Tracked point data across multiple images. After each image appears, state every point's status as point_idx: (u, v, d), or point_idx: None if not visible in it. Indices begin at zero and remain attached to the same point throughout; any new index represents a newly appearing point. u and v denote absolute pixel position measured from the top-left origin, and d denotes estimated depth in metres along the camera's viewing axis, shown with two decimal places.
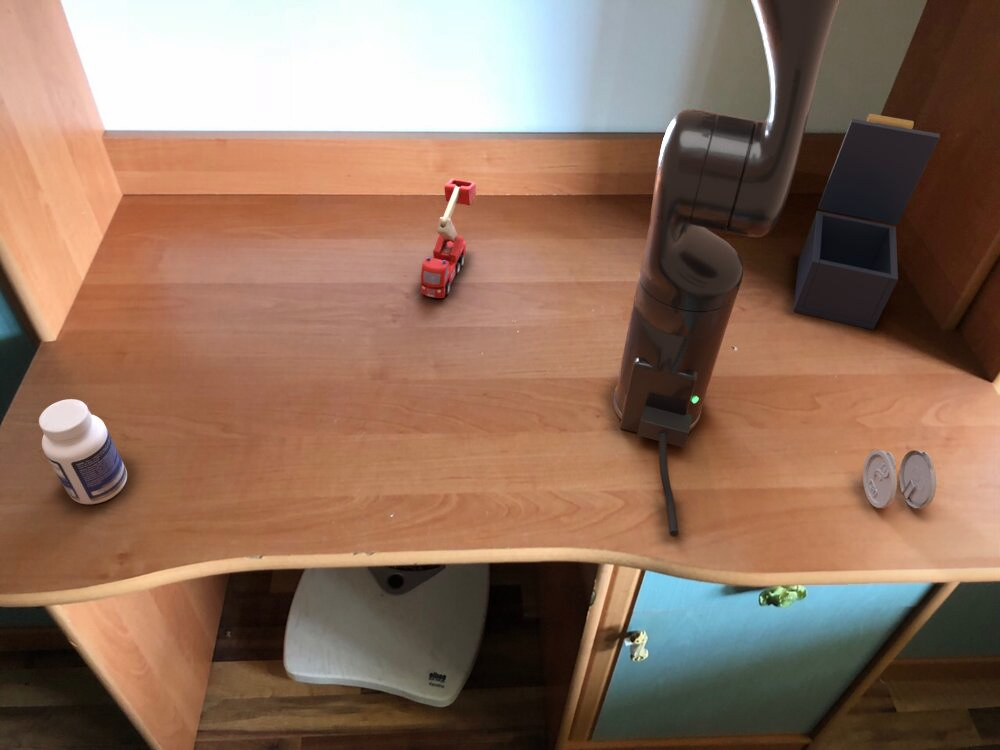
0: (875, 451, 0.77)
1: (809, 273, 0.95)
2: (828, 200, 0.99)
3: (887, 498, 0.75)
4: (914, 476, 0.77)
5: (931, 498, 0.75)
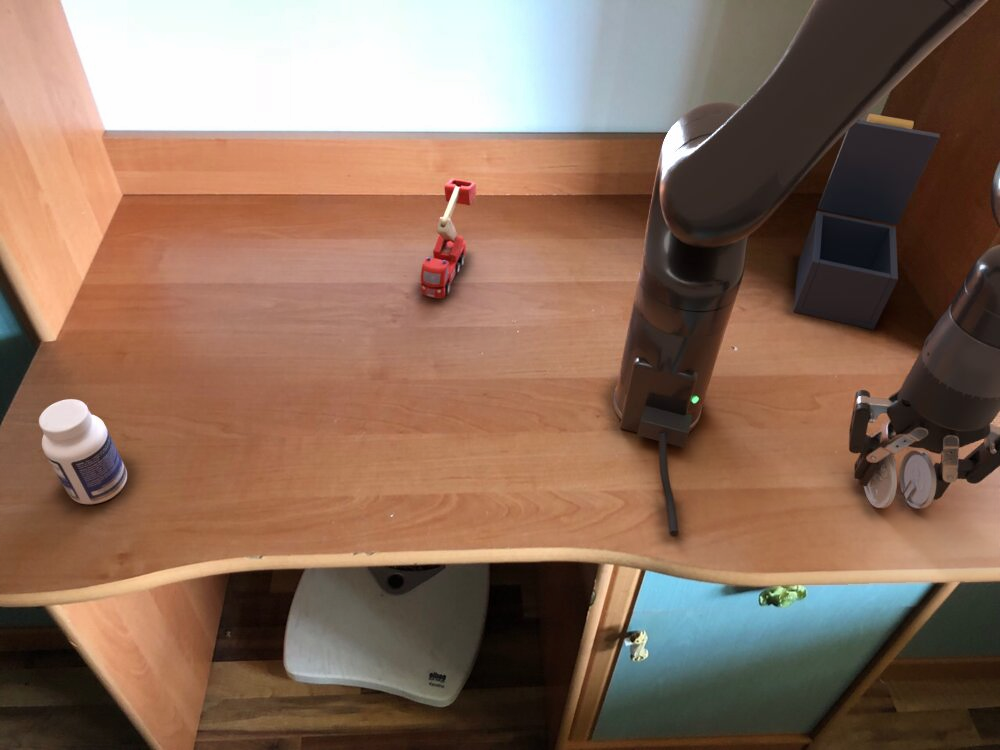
0: None
1: (809, 273, 0.95)
2: (828, 200, 0.99)
3: (887, 498, 0.75)
4: (914, 476, 0.77)
5: (931, 498, 0.75)
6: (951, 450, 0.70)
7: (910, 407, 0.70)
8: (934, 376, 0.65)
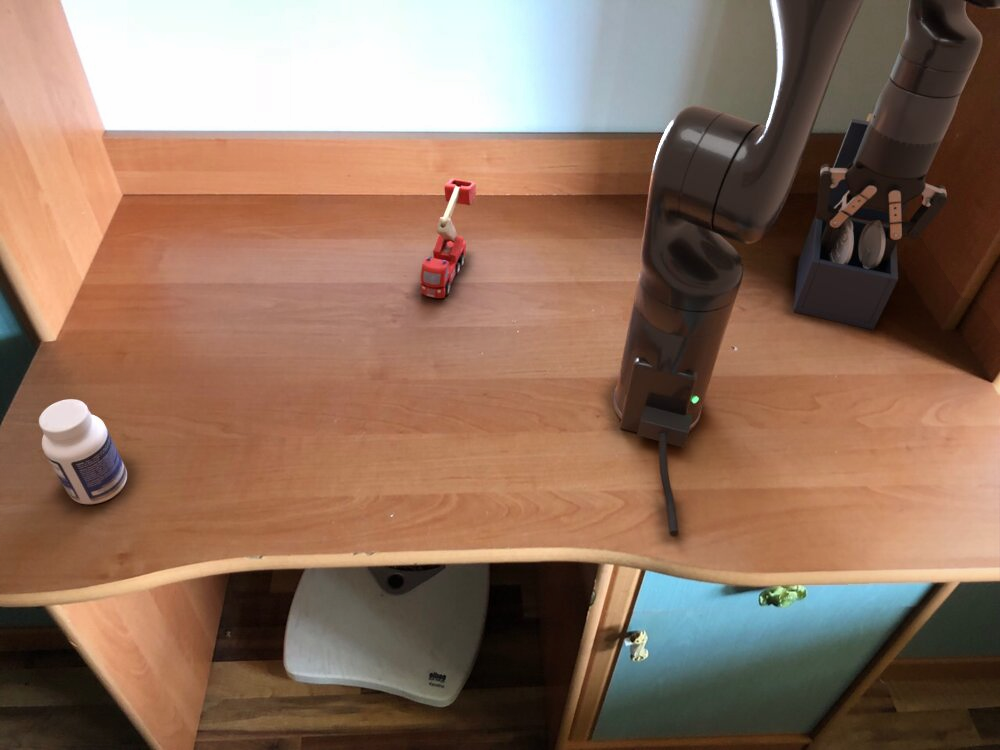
0: None
1: (809, 273, 0.95)
2: None
3: (846, 255, 0.93)
4: (869, 244, 0.96)
5: (881, 255, 0.93)
6: (895, 206, 0.89)
7: (862, 169, 0.88)
8: (878, 132, 0.84)
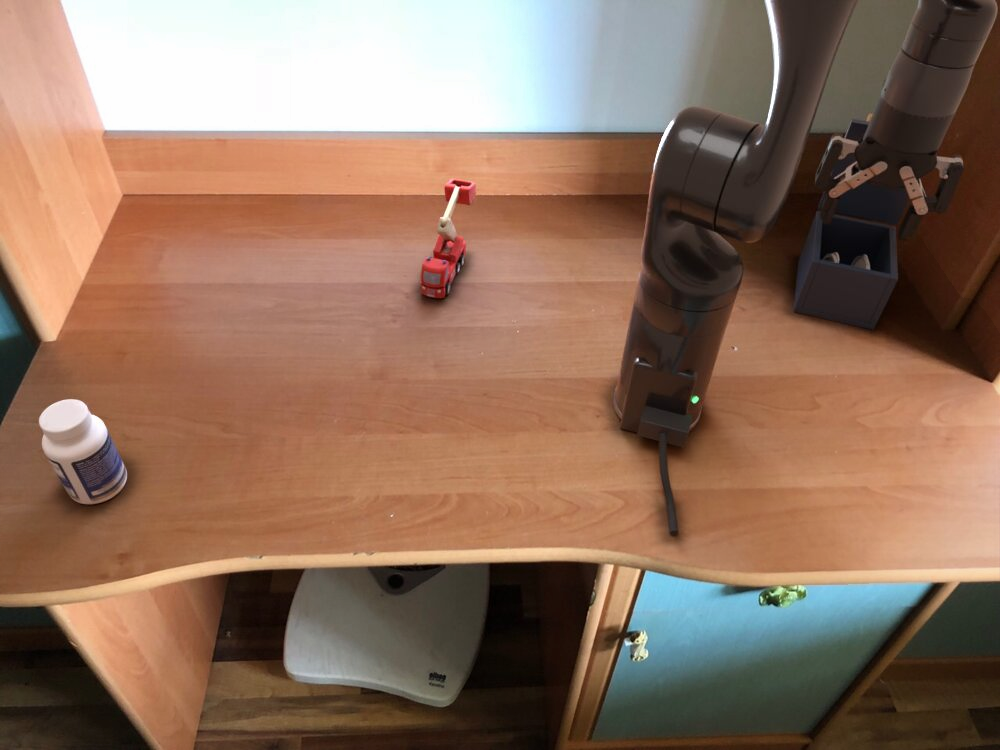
0: (826, 255, 0.99)
1: (809, 273, 0.95)
2: None
3: None
4: None
5: None
6: (910, 181, 0.87)
7: (872, 144, 0.86)
8: (889, 105, 0.81)
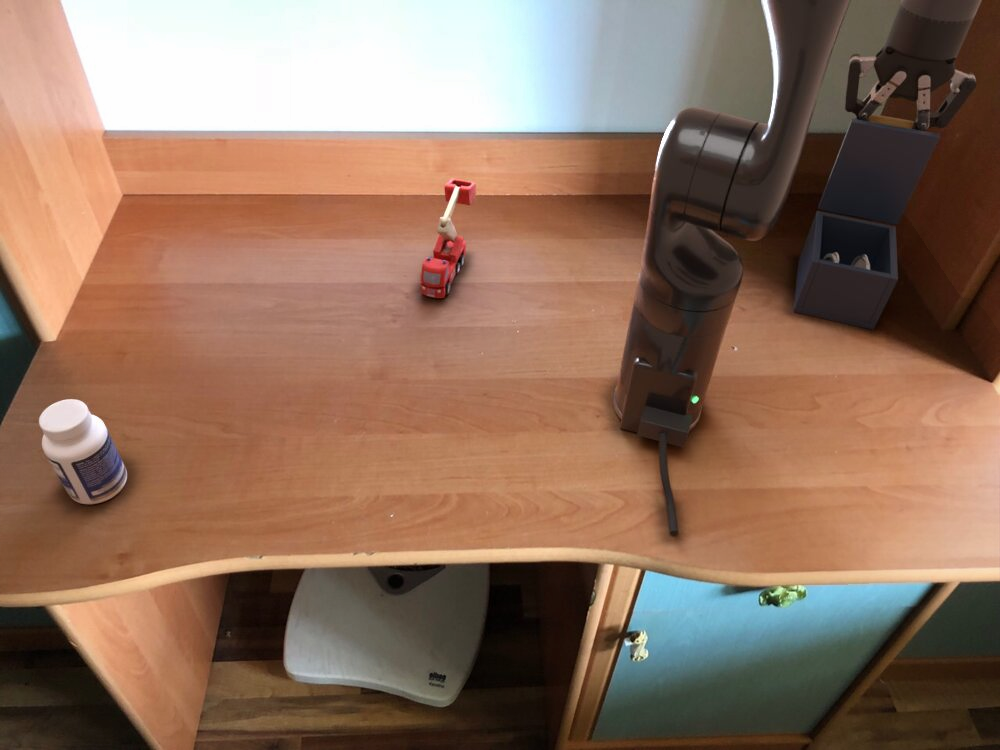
0: (826, 255, 0.99)
1: (809, 273, 0.95)
2: (828, 200, 0.99)
3: None
4: None
5: None
6: (924, 92, 0.89)
7: (892, 54, 0.88)
8: (909, 12, 0.84)
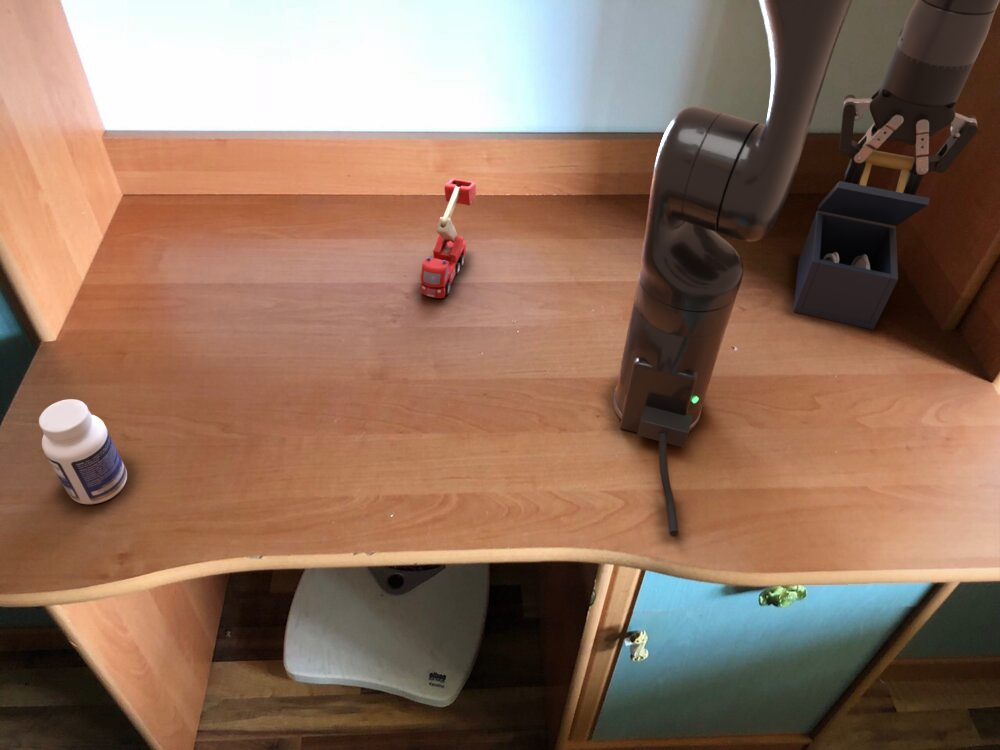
0: (826, 255, 0.99)
1: (809, 273, 0.95)
2: (826, 209, 0.99)
3: None
4: None
5: None
6: (923, 137, 0.85)
7: (888, 97, 0.84)
8: (907, 55, 0.79)
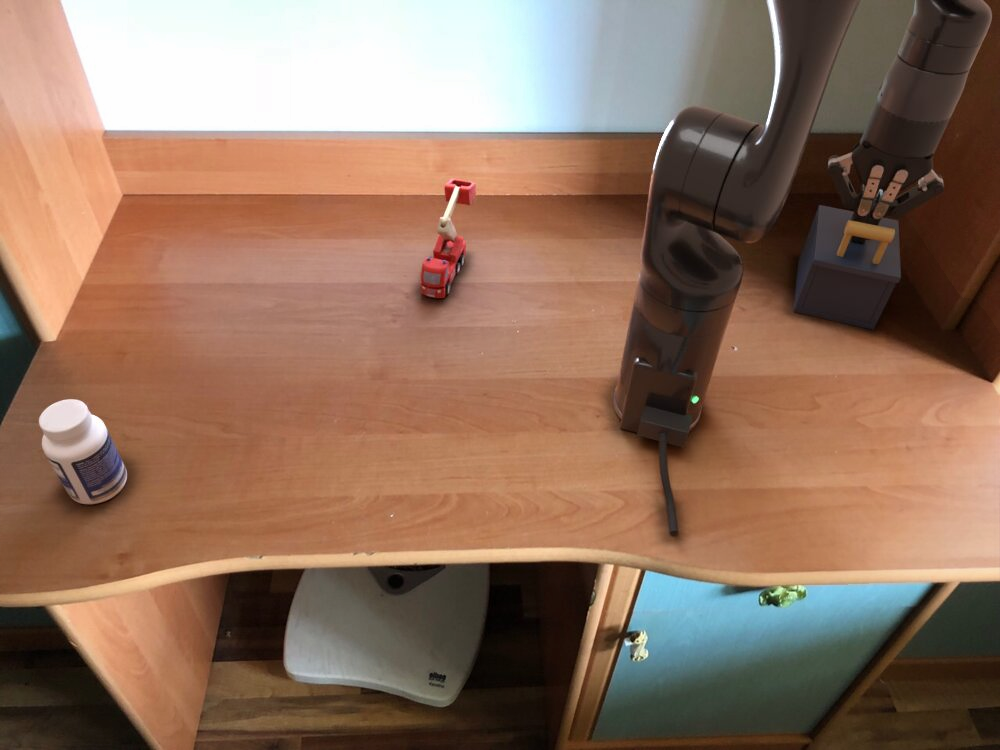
0: None
1: (809, 273, 0.95)
2: None
3: None
4: None
5: None
6: (895, 185, 0.88)
7: (869, 148, 0.87)
8: (886, 110, 0.83)
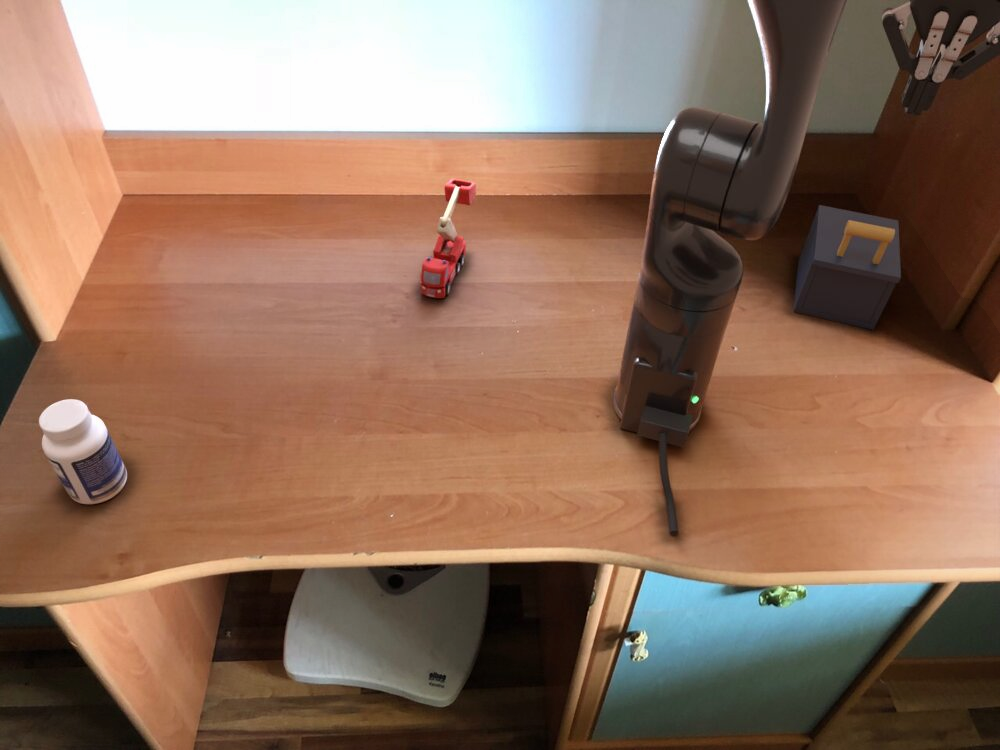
0: None
1: (809, 273, 0.95)
2: None
3: None
4: None
5: None
6: (961, 37, 0.77)
7: None
8: None
